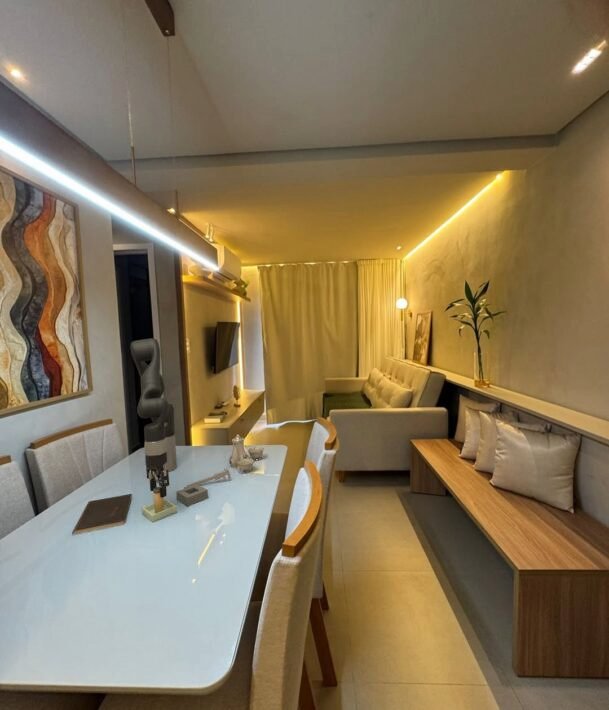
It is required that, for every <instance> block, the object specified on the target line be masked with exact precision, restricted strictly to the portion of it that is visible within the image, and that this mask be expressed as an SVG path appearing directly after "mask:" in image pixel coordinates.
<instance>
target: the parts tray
mask: <svg viewBox="0 0 609 710" xmlns="http://www.w3.org/2000/svg"><path fill="white" fill-rule="evenodd" d="M163 502H164V511H161V512H159V513H156V514H155V507H154V503H151V504H149V505H146V506H144V507H141V515H142V516H144V517H145V518H146V519H147V520H149V521H150V522H151V523H155V522H158V521H160V520H162V519H165V518H167V517H169V516H172V515H176V514H177V513H178V506H177V505H176V504H174V503H172V502H171V501H169V500H168V499H167V498H165V499H164V498H163Z"/></svg>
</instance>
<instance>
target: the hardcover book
mask: <svg viewBox="0 0 609 710" xmlns="http://www.w3.org/2000/svg"><path fill="white" fill-rule="evenodd" d="M132 496H133V493H129V494H123V495H118V496H117V495H116V496H111V497H107V498H101V499H95V500H94V499H93V500H89V501H88V502H87V503H86V506H85V507H84V510H83V511H82V513H81V514H80V517H79V519H78V520H77V522H76V524H75V527H74V528H73V530H72V535H73V534H75V533H80V534H83V533H82V532H85V533H88V531H90V532H94V530H95V531H98V530H103V528H104V529H108V527H109V528H113V527H117V526H118V527H119V526H124V524H125V522H126V518H127V514H128V511H129V507H130V504H131V503H130V502H131V499H132ZM75 535H76V534H75Z"/></svg>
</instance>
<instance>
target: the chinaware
mask: <svg viewBox="0 0 609 710" xmlns="http://www.w3.org/2000/svg"><path fill="white" fill-rule="evenodd" d="M231 442H232V450H231V453H230V456H229V457H228V462H229V464H230V467H231V468H233V469H237V472H238V474H240V473H241V474H243V473H244V474H248V473H247V472H249V473H250V471H251V470H252V468H253V466H254V463H255V462H256V460H253V459H258V458H259V459H261V457H262V456H263V453H264V450H265V448H264V447H261V448H260V447H259V446H258V447H257V446H256V447H254V448H249V449H248V451H247V452H246V450H245V444H244V443H245V437H241V435H240V434H236V436H235V437H234V438H232V439H231ZM247 453H248V454H249V455H248V454H247ZM249 456H250V457H251V458H250V457H249ZM239 470H240V471H239Z"/></svg>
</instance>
